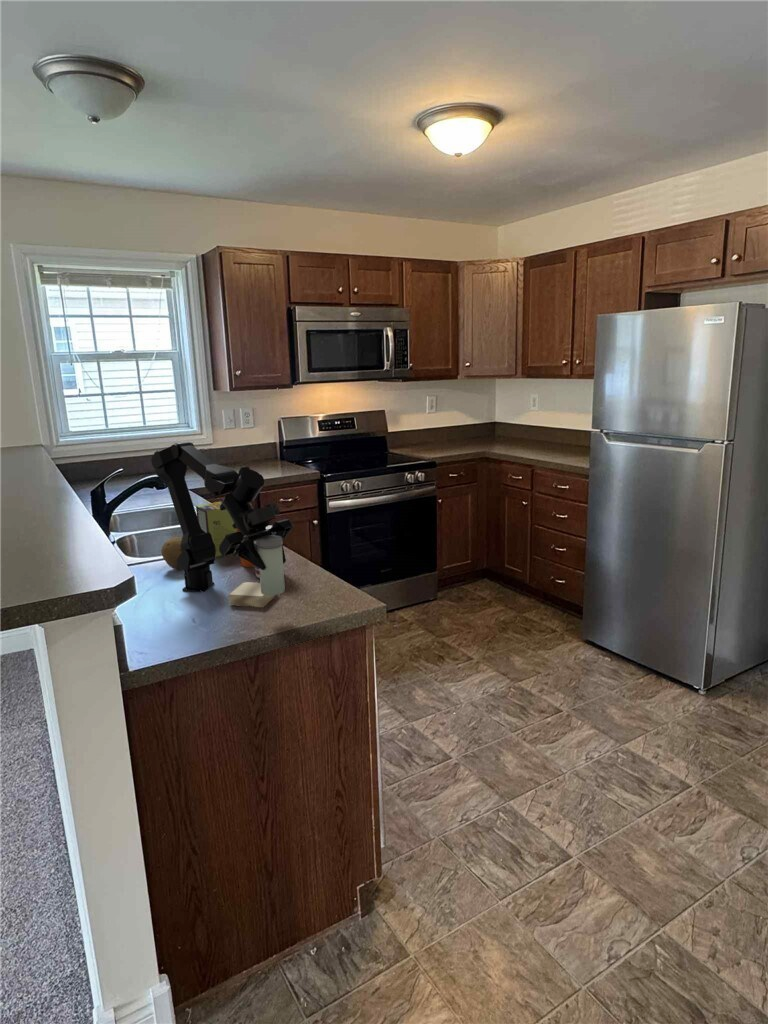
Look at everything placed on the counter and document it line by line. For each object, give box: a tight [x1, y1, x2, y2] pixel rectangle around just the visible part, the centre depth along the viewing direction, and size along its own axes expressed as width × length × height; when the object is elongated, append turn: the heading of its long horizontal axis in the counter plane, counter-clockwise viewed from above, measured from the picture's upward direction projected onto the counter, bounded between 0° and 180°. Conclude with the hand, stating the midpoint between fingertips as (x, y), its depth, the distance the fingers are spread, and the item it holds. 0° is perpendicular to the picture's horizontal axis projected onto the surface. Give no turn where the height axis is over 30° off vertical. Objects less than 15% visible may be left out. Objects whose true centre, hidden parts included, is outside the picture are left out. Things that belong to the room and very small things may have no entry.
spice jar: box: [256, 535, 286, 596], centre depth 148 cm, size 6×6×13 cm
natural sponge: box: [160, 536, 182, 571], centre depth 188 cm, size 9×9×10 cm
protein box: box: [195, 501, 253, 558], centre depth 205 cm, size 10×15×16 cm
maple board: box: [228, 581, 276, 608], centre depth 163 cm, size 9×9×3 cm
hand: (274, 565), depth 148 cm, fingers closed on spice jar, 6 cm apart
